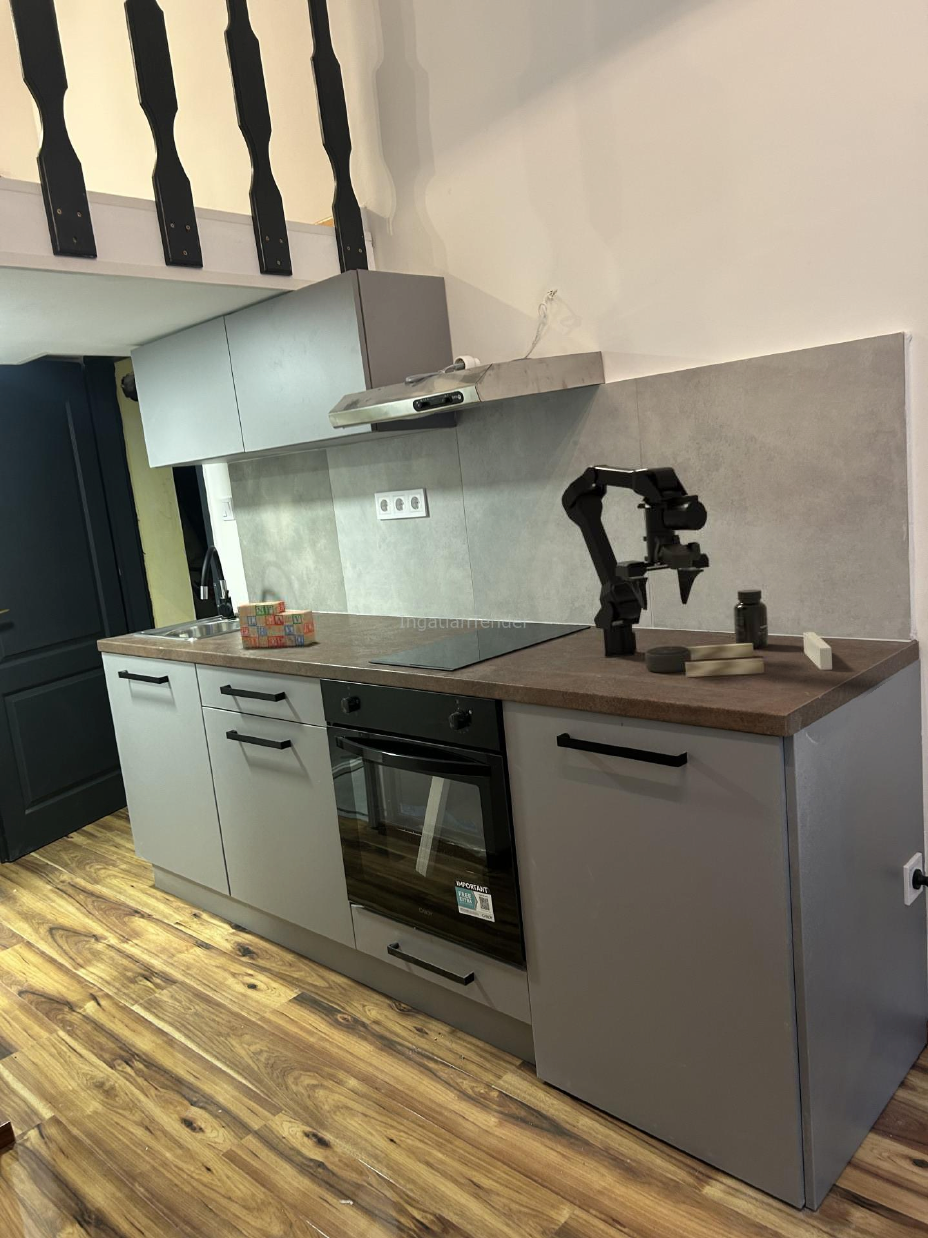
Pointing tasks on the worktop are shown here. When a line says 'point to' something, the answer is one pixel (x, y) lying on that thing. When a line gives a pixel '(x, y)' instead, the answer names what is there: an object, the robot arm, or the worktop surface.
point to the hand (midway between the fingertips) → (664, 607)
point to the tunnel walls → (723, 665)
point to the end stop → (817, 650)
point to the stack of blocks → (274, 625)
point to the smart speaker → (667, 659)
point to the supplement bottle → (751, 619)
